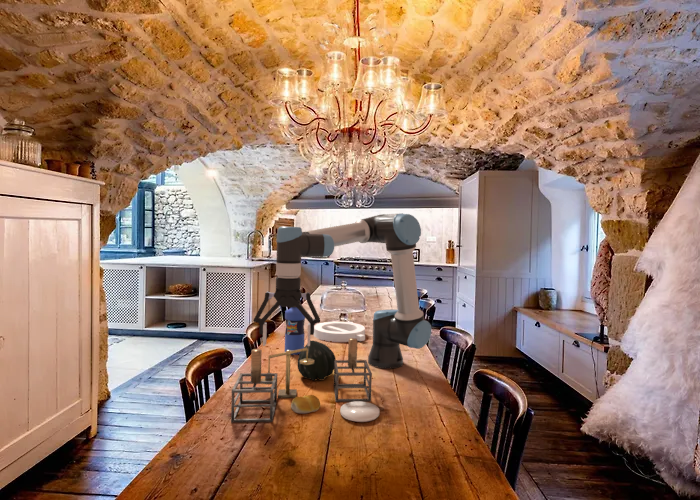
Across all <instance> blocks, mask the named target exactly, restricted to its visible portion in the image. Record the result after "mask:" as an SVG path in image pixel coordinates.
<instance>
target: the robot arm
mask: <svg viewBox="0 0 700 500" xmlns="http://www.w3.org/2000/svg"><path fill="white" fill-rule="evenodd" d="M421 235H422V228H421V224H420V222H419V220H418V219H417V218H416V217H415V216H414V215H412V214H409V213H389V214H388V213H387V214H385V213H384V214H377V215H374V216H370V217H369V216H368V217H365V218H360V219H358V220H356V221H355V222H351V223H348V224H347V223H346V224H340V225H336V226H330V227H324V228H317V229H312V230H305V231H303V229H302V227H300V226H279V227H278V228H277V234H276V240H275V241H276V264H275V266H276V267H275V270H276V271H275V275H276V276H277V277H276V278H275V290H274V291H275V292H270V291H269V290H267V291H266V292H265V293H264V299H263V301H262V303H261V305H260V308H258V311H257V313H256V314H255V316H254V318H253V322H254V323H258V325H259V328H258V329H259V332H258V334H259V335H262V347H265V346H266V345H267V336H268V335H267V333H268V332H267V330H268V329H267V327H268V325H267V322H266V321H267V320H268V319H269V318H270V317H271V315H272V314H273V313H274V312H275V311H276V309H278V308H279V306H280V307H282V308H287V307H289V308H291V307H294V306H296V307H297V308H298V309H299V311H300V312H301V313H302V314H303V315H304V317H305V319H306V320H307V322H308V323H307V343H308V344H307V343H306V345H307V346H310V340H311V335H312V336H314V326H315V325H316V324H318V323H321V317H320V316H319V313H318V311H317V309H316V307H315V306H314V303H313V300H312V299H311V297H312V296H311V292H309V291H306V292H304V293H302V292H301V281H302V280H301V277H300V276H301V274H302V273H301V272H302V270H301V269H302V258H327V257H330V256H332V255H333V253H334V251H335V248H336V247H340V246H344V245H349V244H354V243H360V244H366V243H367V244H368V243H378V244H385V248H386V251H387V252H388V253H389V254H390V257H391V266H392V275H393V283H394V291H395V299H396V308H397V309H380V310H379V309H378V310H376V311H375V312H374V313H373V319H372V345H371V349H370V351H369V354H368V358H367V363H368V365H370V366H371V367H375V368H381V369H396V368H397V369H398V368H401V367H402V366H403V365H404V357H403V354H402V353H403V352H402V350H401V347H400V345H402V346H405V347H408V348H409V349H410V348H411V349H416V350H417V349H418V350H419V349H422V348H424V347H425V346H426V345H427V344H428V342H429V340H430V338H431V334H432V324H431V323H430V322H429V321H427V319H425V316H424V312H423V310H422V309H420V307H419V295H418V288H417V287H418V286H417V279H416V278H417V277H416V271H415V270H416V269H415V260H414V259H415V258H414V250H415V249H416V248H417V243H418V242H419V241H420V237H421ZM272 298H274V299H275V301H276V302H275V304H273V305H272V306H271V308H269V310H268V311H267V312H266V313H265V314H264V315H263V317H262V318H260V317H261V316H262V314H263V312H264V310H265V308H266V306H267V304H268V302H269V301H270V300H271V299H272ZM302 298H303V299H304V300H305V301H306V303H307V304H308V307H309V309H310V311H311V313H312V315H313V317H312V316H311V315H310V313H309V312H308V311H307V310H306V309H305V307H304V306H303V305H302V303H301V301H300V300H301V299H302ZM299 301H300V302H299Z"/></svg>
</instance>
